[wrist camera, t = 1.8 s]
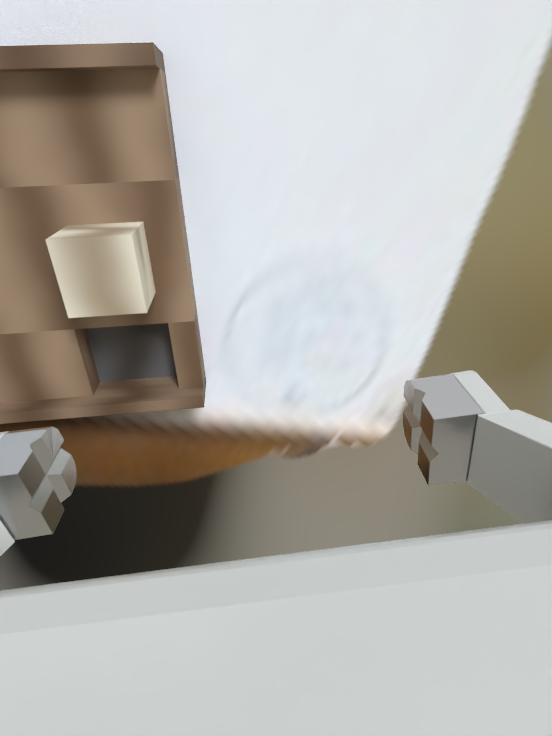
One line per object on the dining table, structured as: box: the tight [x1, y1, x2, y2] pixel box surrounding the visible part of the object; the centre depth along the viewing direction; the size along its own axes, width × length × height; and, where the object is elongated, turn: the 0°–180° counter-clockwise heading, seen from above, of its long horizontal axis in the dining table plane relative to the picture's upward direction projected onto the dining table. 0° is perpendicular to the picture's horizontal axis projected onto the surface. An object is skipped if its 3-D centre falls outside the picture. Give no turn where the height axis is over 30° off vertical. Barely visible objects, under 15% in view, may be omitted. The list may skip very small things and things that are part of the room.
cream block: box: [45, 222, 156, 318], centre depth 28 cm, size 5×5×4 cm
